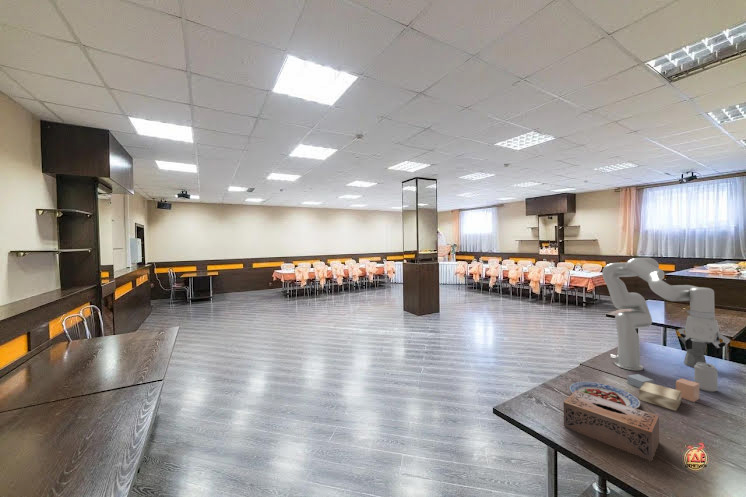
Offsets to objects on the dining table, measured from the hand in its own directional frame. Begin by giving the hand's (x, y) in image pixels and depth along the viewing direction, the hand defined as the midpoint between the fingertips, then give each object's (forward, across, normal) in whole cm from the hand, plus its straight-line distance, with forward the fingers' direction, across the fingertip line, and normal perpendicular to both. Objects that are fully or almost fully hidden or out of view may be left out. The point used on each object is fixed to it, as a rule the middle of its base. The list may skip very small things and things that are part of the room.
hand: (702, 352), depth 137 cm
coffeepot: (+21, -24, +43) cm, 53 cm away
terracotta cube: (+21, -3, -5) cm, 22 cm away
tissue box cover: (+22, +5, -65) cm, 69 cm away
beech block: (+22, -5, -20) cm, 30 cm away
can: (+21, -6, +13) cm, 26 cm away
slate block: (+21, -18, -12) cm, 30 cm away
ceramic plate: (+22, -14, -42) cm, 49 cm away
